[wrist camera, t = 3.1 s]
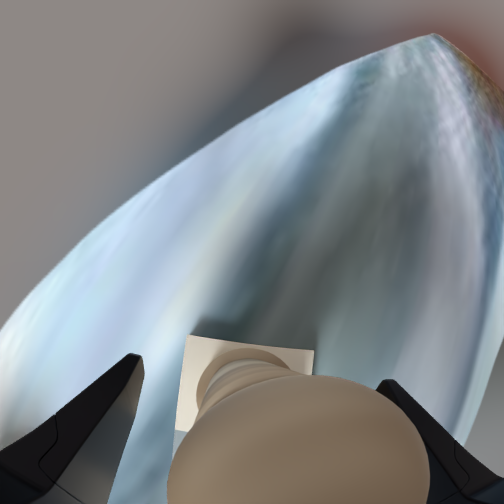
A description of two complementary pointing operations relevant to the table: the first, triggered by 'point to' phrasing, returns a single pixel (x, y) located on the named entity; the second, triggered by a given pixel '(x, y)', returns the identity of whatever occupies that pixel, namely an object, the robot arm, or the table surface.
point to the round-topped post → (294, 440)
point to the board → (201, 355)
